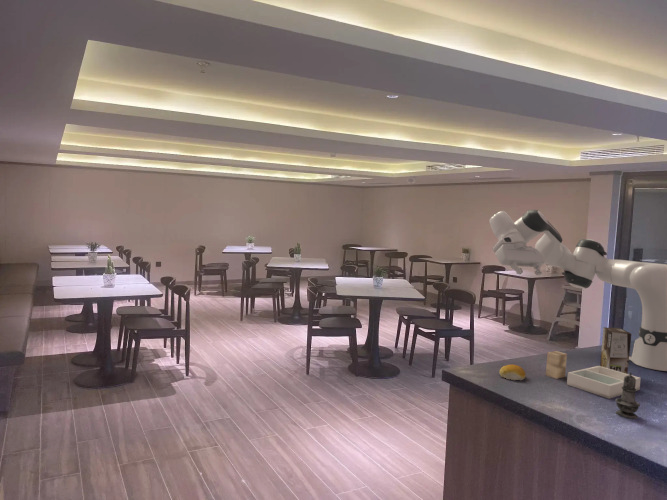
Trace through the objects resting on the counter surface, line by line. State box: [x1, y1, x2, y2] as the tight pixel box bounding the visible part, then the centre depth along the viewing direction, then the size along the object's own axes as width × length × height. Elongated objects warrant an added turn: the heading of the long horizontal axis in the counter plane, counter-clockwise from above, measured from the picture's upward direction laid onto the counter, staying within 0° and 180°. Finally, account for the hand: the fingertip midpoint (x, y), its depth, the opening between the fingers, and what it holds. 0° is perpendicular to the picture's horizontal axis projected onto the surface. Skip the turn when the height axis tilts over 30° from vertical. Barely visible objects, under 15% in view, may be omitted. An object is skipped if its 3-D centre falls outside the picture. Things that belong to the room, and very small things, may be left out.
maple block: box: [545, 350, 568, 379], centre depth 167 cm, size 5×4×8 cm
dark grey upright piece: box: [615, 372, 641, 420], centre depth 135 cm, size 6×6×12 cm
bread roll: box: [499, 364, 526, 381], centre depth 164 cm, size 8×9×4 cm
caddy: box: [566, 365, 641, 400], centre depth 158 cm, size 18×14×4 cm
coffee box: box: [599, 326, 633, 374], centre depth 172 cm, size 9×6×16 cm
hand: (529, 273), depth 181 cm, fingers open, 8 cm apart
